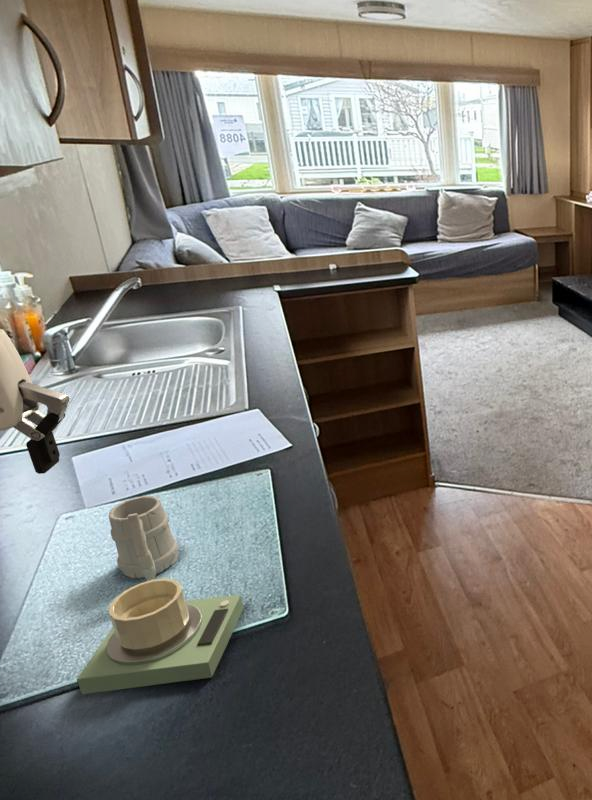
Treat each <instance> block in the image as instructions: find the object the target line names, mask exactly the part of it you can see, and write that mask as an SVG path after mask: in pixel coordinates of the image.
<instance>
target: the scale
mask: <svg viewBox="0 0 592 800" xmlns="http://www.w3.org/2000/svg"><path fill="white" fill-rule="evenodd" d="M185 601H186V603H187V604H191V605H193V606H195V607H197V608H198V609H199V610H200V612H201V616H202V624H201V627H200V629H199V631H198V632H197V634H196V635H195V636H194V637H193V638H192V639H191V640H190V641H189V642H188V643H187V644H186V645H184V646H183V647H182V648H180V649H179V650H177V651H176V652H174V653H172V654H170V655H168V656H166V657H164V658H161V659H159V660H156V661H153V662H150V663H145V664H140V665H121V664H117V663H115V662H113V661H112V660H111V659H110V658H109V656H108V653H107V649H106V647H107V643H108V640H109V639H110V637H111V635H112V634H113V633H114V632H115V631H114V628H113V627H112V628H111V629H110V631H109V632H108V633H107V634H106V636H105V638H104V640H103V641H101V643H100V645H99V646H98V648H97V649H96V651H95V652H94V654H93V655H92V657H90V659H89V660H88V662H87V663H86V664H85V667H84V668H83V669H82V670H81V672H80V673H79V675H78V676H77V678H76V681H77V685H78V687H79V689H80V693H81V694H82V695H89V694H96V693H102V692H111V691H119V690H127V689H133V688H134V689H135V688H141V687H142V688H143V687H148V686H149V687H150V686H156V685H157V686H158V685H164V684H170V683H171V684H172V683H180V682H187V681H195V680H203V679H210V678H211V679H212V678H213V676H214V674H215V672H216V670H217V667H218V666H219V663H220V661H221V659H222V657H223V655H224V652H225V650H226V648H227V646H228V644H229V642H230V639H231V637H232V635H233V633H234V631H235V628H236V626H237V624H238V622H239V620H240V619H241V616H242V614H243V612H244V610H245V607H244V604H243V603H244V602H243V599H242V596H241V594H234V595H226V596H218V597H217V596H215V597H208V598H206V597H205V598H197V599H189V600H188V599H187V600H185Z"/></svg>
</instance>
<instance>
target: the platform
mask: <svg viewBox="0 0 592 800" xmlns="http://www.w3.org/2000/svg"><path fill="white" fill-rule="evenodd" d="M186 604H187V603H186ZM187 608H188V611H189V620H188V622H187V623H186V625H185V627H184V628H183V629H182V630H181V631H180V632H178V633H177V634H176V635H175V636H174V637H172V638H171V639H169V640H168V641H166V642H164V643H162V644H160V645H157V646H154V647H151V648H146V649H134V650H133V649H128V648H124V647H123V646H122V645H121V644H120V643H118V640H117V637H116V634H115V632H114V633H113V634H112V635H111V637H110V639H109V640H108V643H107V647H106V649H107V653H108V656H109V658H110V659H111V660H112V661H113V662H115V663H117V664H121V665H140V664H145V663H150V662H153V661H156V660H159V659H161V658H164V657H166V656H168V655H170V654H172V653H174V652H176V651H177V650H179V649H180V648H182V647H183V646H184V645H186V644H187V643H188V642H189V641H190V640H191V639H192V638H193V637H194V636H195V635H196V634H197V632H198V631H199V629H200V627H201V624H202V616H201V612H200V610H199V609H198V608H197V607H195V606H193V605H191V604H187Z"/></svg>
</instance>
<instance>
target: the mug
mask: <svg viewBox="0 0 592 800" xmlns="http://www.w3.org/2000/svg"><path fill="white" fill-rule="evenodd" d="M108 519H109V524H110V528H111V529H110V536H111V539H112V541H113V542H114V543H115V547H116V551H117V558H116V563H117V568H118V569H119V570H120V571H122V573H123V575H124V576H126V577H129V578H132V579H143V578H145V579H146V581H150V580H153V579H156V575H157V574H159V573H163V572H164V571H165V570H168V569H169V568H170V566H173V565H174V564H175V563H176V562H177V560H178V558H179V554H178V553H179V552H178V551H179V549H180V547H179V542H178V541H177V539H176V538H175V537H173V533H172V531H171V528H170V527H171V526H170V525H169V523H170V518H169V515H168V513H166V512H165V510H164V507H163V504H162V501H161V499H159V498H158V496H157V497H156V496H154V495H143V496H140V497H135V498H130V499H126V500H124V501H122V502H120V503H118V504H117V505H115V506H114V507H112V508H111V509H110V510H109V513H108Z"/></svg>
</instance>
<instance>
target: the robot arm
mask: <svg viewBox="0 0 592 800" xmlns="http://www.w3.org/2000/svg"><path fill="white" fill-rule="evenodd" d="M69 402H70V397H69V396H68V394H65V393H63V392H59V391H56V390H53V389H51V388H47V387H43V386H41V385H37V384H34V383H33V381H32V379H31V376H30V374H29V372H28V369H27V368H26V365H25V363H24V362H23V359H22V357H21V356H20V354H19V352H18V349H17V347H16V346H15V345H14V343H13V341H12V339H11V338H10V337H9V335H8V334H7V332H6V331H5V329H4V328H0V432H2V431H3V432H4V431H8V430H10V429H12V428H14V429H15V430H17V431H18V432H20V433H21V434H23V435H24V436H26V438H29V440H28V441H27V442H26V443H25V447H26V448H27V452H28V454H29V457H30V460H31V463H32V466H33V468H34V472H35V473H37V474H39V475H42V474H46V473H47V472H48V471H50V470H51V469H52V468H53V467H54V466H56V465H57V464H58V463H59V462H60V450H59V448H58V445H57V441H56V438H55V435H54V433H53V431H55V430H56V429H57V427H58V425H59V424H60V423H61V422H62V420H64V418H65V417H66V411H67V409H68V405H69ZM39 404H42V405H44V406H46V408H47V410H46V415H45V414H44V413H42V412H41V411H39V409H40V406H39Z"/></svg>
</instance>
